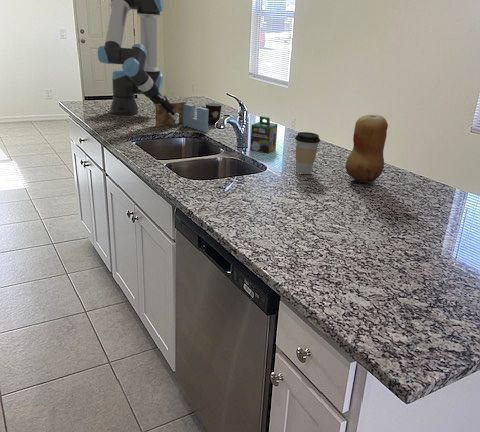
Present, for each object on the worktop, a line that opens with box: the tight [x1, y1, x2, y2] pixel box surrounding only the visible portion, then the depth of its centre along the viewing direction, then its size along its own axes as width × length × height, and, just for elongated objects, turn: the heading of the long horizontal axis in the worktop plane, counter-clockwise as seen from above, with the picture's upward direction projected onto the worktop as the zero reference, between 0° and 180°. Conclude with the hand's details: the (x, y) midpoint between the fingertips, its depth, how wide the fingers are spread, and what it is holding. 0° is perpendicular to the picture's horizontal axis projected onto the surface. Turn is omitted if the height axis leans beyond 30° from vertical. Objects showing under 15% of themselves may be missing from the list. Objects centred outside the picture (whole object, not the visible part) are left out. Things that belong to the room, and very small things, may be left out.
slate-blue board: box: [182, 103, 209, 133], centre depth 233 cm, size 16×2×11 cm, turn 47°
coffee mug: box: [201, 102, 223, 125], centre depth 248 cm, size 12×9×10 cm
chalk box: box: [249, 116, 278, 154], centre depth 203 cm, size 9×9×15 cm
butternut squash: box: [345, 114, 389, 183], centre depth 169 cm, size 14×13×25 cm
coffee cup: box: [294, 131, 321, 175], centre depth 176 cm, size 9×9×15 cm
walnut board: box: [155, 100, 187, 128], centre depth 237 cm, size 18×2×11 cm, turn 137°
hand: (174, 117), depth 239 cm, fingers closed on walnut board, 2 cm apart
